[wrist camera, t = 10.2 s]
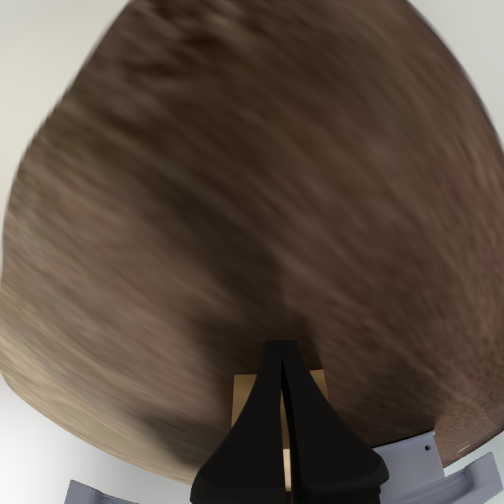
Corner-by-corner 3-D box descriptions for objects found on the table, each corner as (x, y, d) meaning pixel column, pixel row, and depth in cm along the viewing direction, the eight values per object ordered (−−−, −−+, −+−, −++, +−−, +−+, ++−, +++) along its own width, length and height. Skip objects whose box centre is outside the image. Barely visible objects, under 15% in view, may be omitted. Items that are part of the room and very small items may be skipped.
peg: (322, 366, 15) (336, 443, 10) (306, 441, 21) (310, 488, 16) (234, 372, 15) (230, 450, 11) (250, 444, 21) (250, 492, 17)
